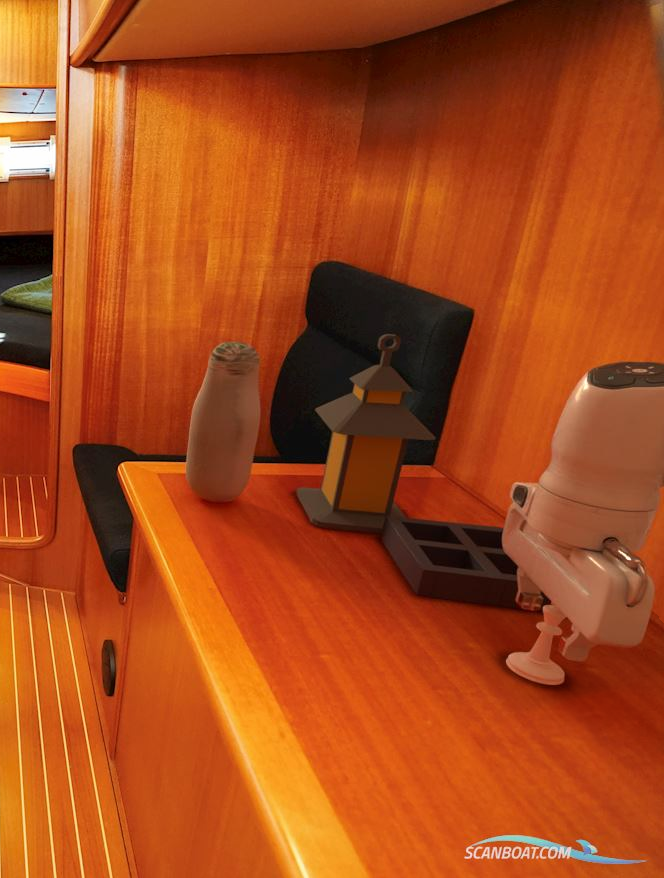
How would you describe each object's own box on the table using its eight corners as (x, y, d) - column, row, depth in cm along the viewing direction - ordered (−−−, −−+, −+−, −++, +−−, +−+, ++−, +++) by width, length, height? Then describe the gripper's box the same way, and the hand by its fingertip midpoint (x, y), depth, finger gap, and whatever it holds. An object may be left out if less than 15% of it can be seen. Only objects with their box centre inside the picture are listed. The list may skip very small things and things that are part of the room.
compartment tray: (510, 553, 103) (517, 528, 101) (570, 615, 88) (580, 588, 87) (379, 538, 108) (385, 515, 106) (416, 595, 93) (423, 569, 92)
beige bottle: (170, 491, 126) (189, 339, 117) (219, 484, 129) (240, 333, 119) (207, 514, 117) (230, 351, 108) (258, 506, 120) (286, 345, 110)
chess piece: (495, 663, 80) (520, 588, 77) (522, 652, 82) (548, 578, 78) (546, 690, 76) (574, 612, 72) (574, 678, 78) (603, 601, 74)
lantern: (416, 537, 108) (466, 347, 97) (313, 526, 112) (351, 343, 102) (386, 499, 120) (428, 327, 110) (294, 491, 125) (326, 324, 114)
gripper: (697, 573, 62) (643, 698, 67) (572, 483, 80) (537, 587, 85) (607, 563, 64) (561, 685, 69) (505, 477, 82) (474, 579, 87)
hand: (547, 630), depth 77 cm, fingers open, 8 cm apart
